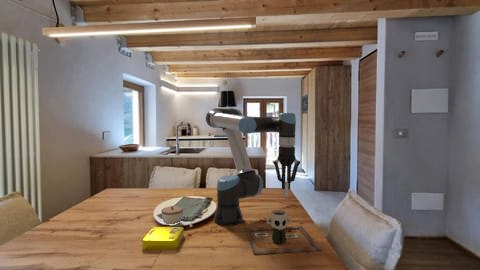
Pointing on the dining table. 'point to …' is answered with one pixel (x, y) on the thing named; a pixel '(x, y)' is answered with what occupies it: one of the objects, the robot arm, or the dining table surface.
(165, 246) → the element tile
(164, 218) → the lidded jar
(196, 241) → the dining table surface
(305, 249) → the label frame
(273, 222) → the character mug
